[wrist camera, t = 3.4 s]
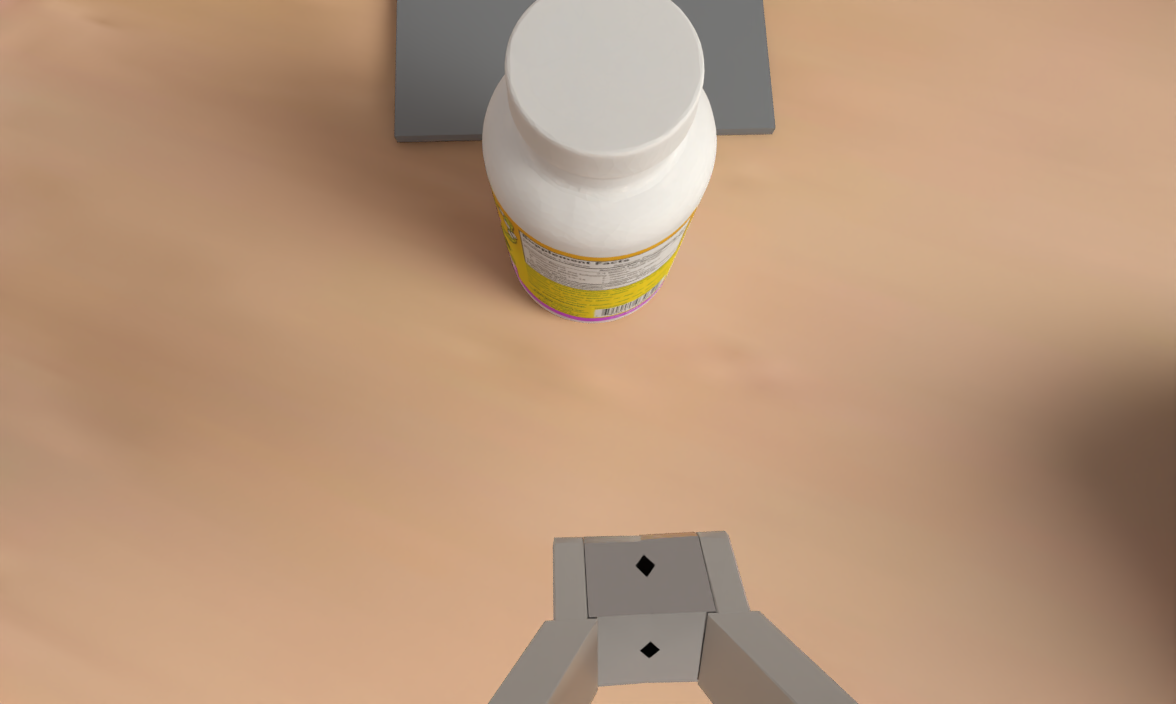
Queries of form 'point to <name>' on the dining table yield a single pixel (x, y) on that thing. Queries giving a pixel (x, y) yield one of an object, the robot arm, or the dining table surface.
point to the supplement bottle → (598, 151)
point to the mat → (478, 48)
